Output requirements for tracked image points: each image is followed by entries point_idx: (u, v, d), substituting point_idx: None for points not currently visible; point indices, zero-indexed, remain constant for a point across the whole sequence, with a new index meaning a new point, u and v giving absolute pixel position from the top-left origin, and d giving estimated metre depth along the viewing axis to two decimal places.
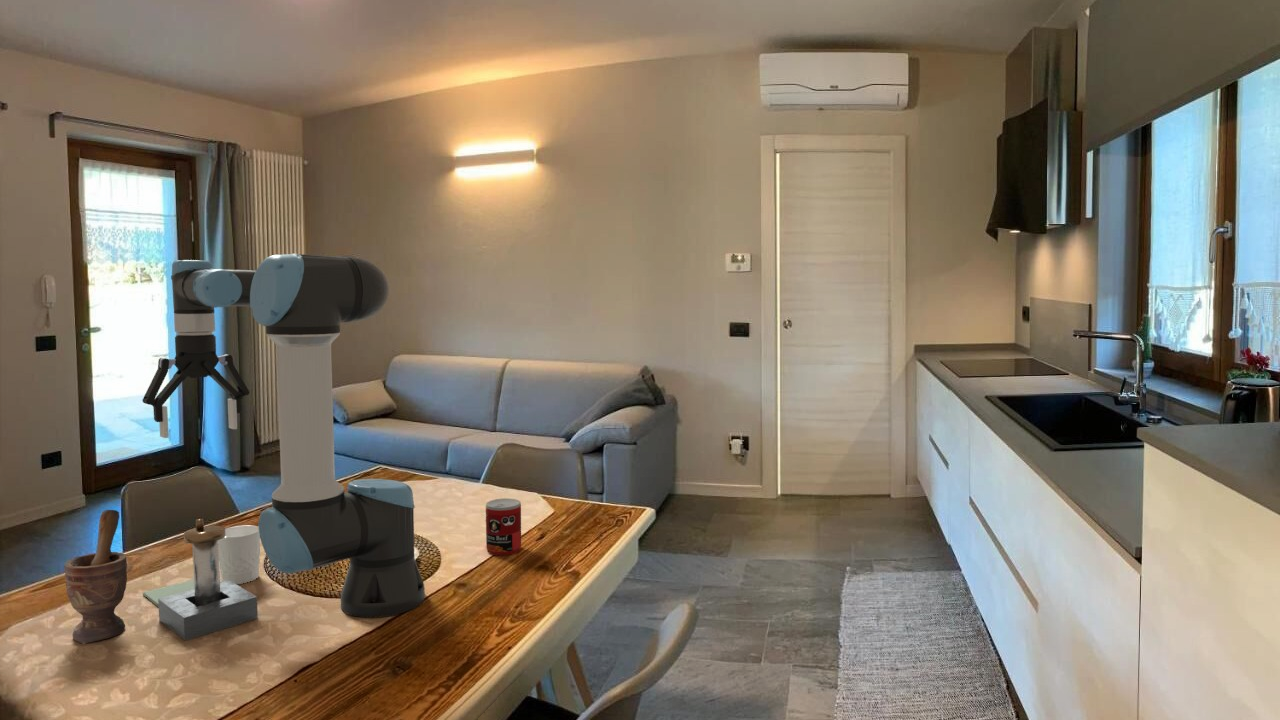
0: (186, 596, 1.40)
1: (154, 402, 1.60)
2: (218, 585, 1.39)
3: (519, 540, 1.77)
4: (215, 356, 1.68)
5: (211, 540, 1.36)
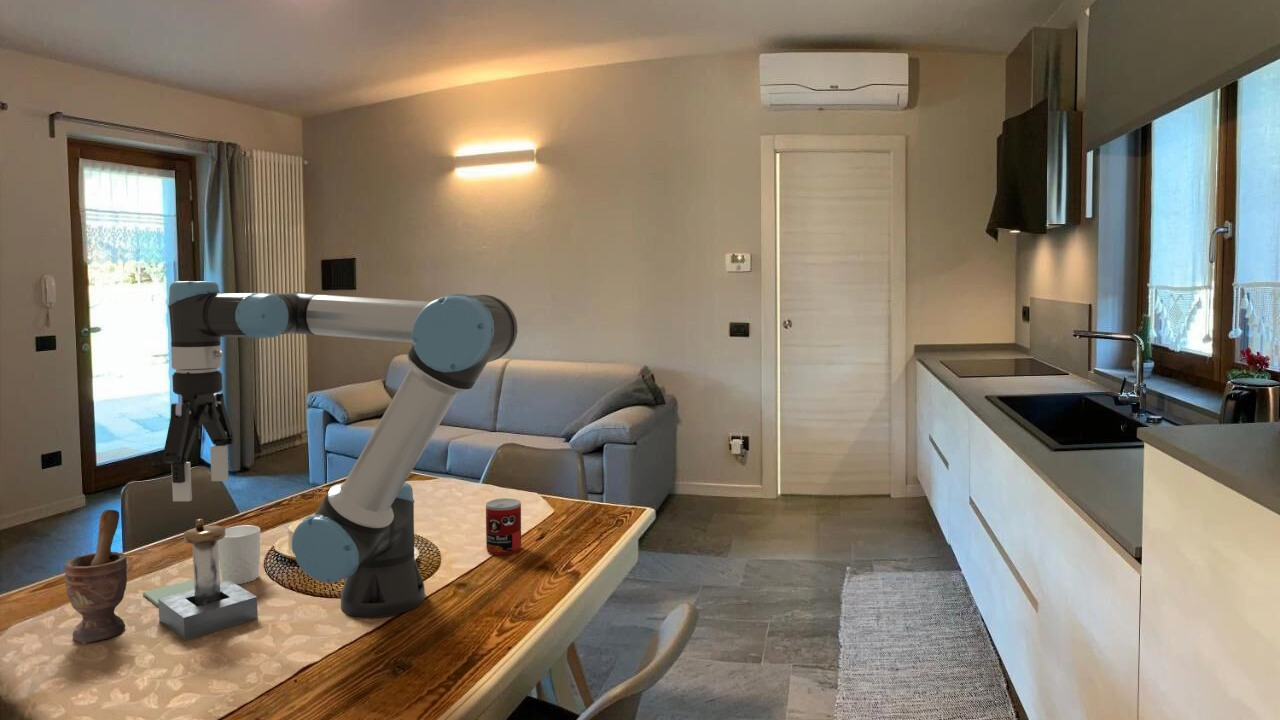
0: (186, 596, 1.40)
1: None
2: (218, 585, 1.39)
3: (519, 540, 1.77)
4: None
5: (211, 540, 1.36)
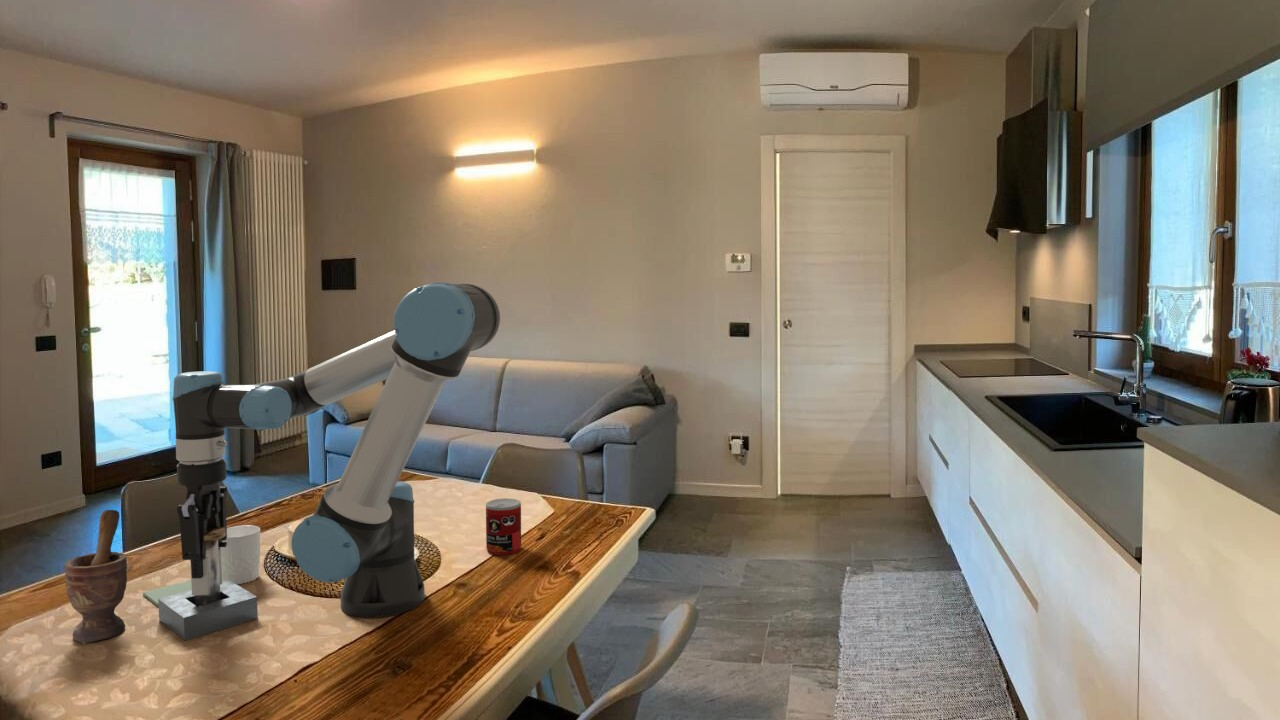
0: (186, 596, 1.40)
1: None
2: (218, 585, 1.39)
3: (519, 540, 1.77)
4: None
5: (211, 540, 1.36)
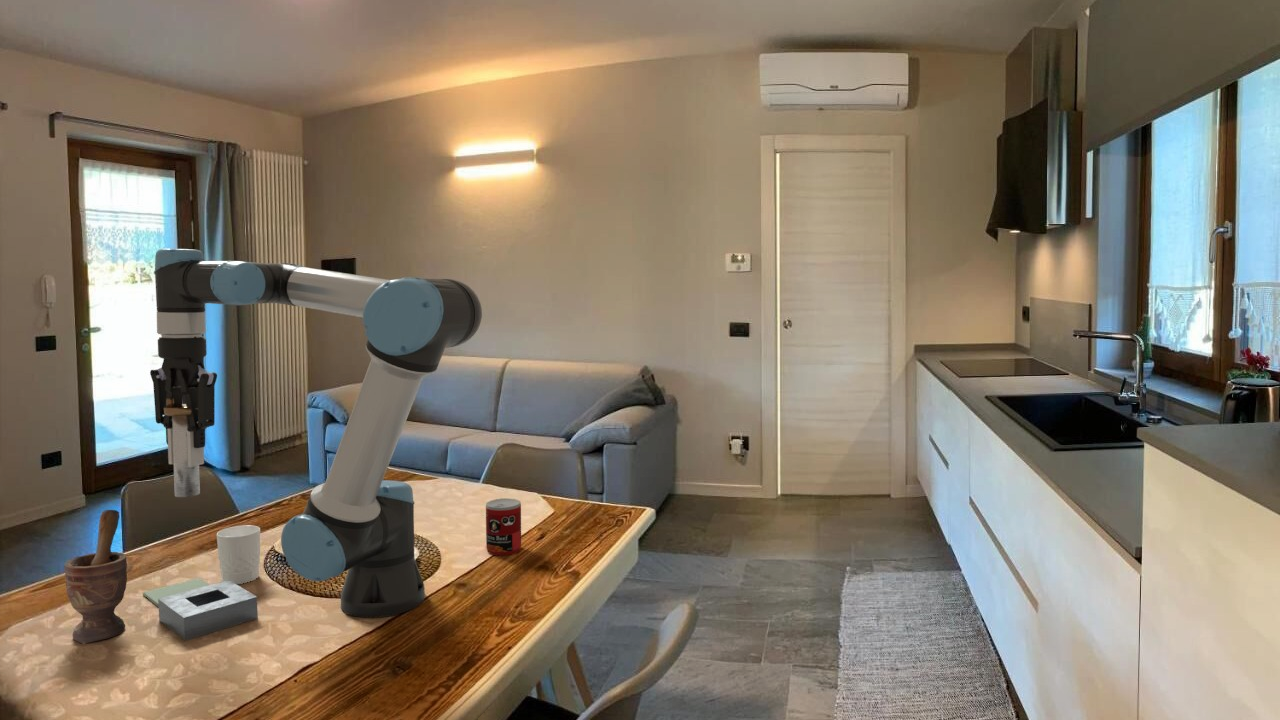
0: (186, 596, 1.40)
1: None
2: None
3: (519, 540, 1.77)
4: (193, 366, 1.38)
5: None
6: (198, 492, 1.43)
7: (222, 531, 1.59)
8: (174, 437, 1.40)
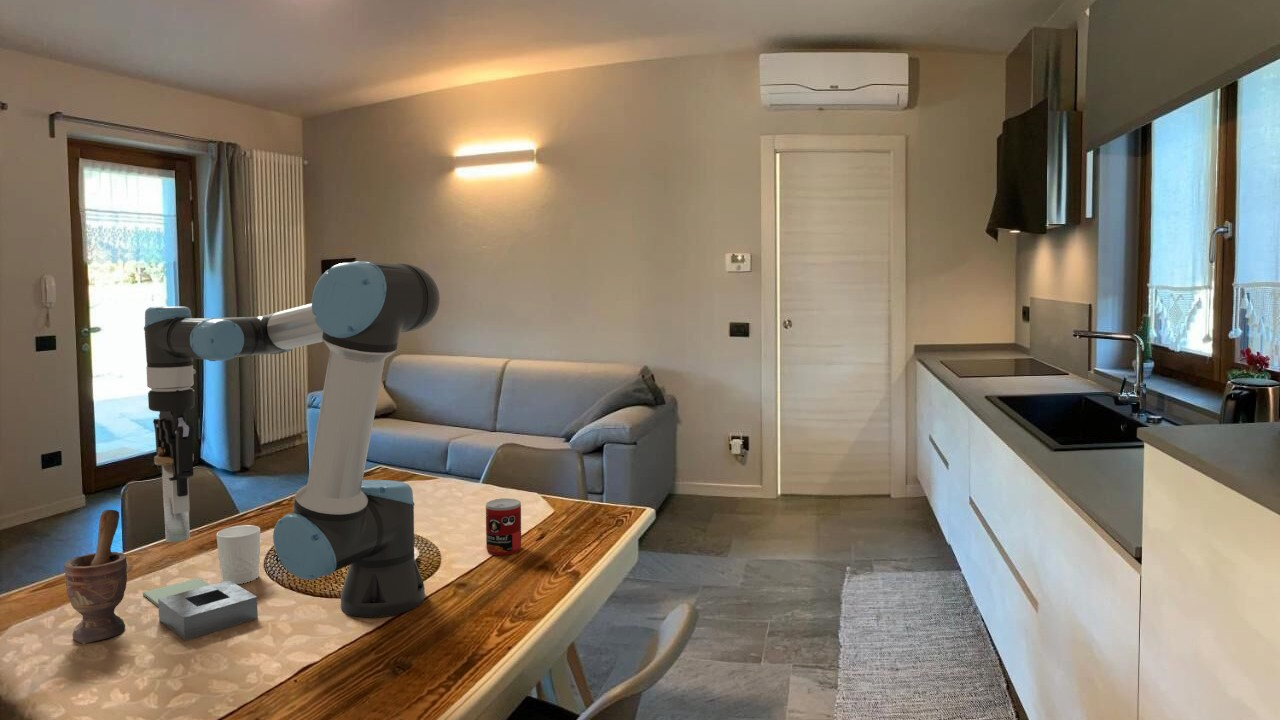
0: (186, 596, 1.40)
1: None
2: None
3: (519, 540, 1.77)
4: (173, 419, 1.44)
5: None
6: (185, 538, 1.49)
7: (222, 531, 1.59)
8: (163, 484, 1.48)
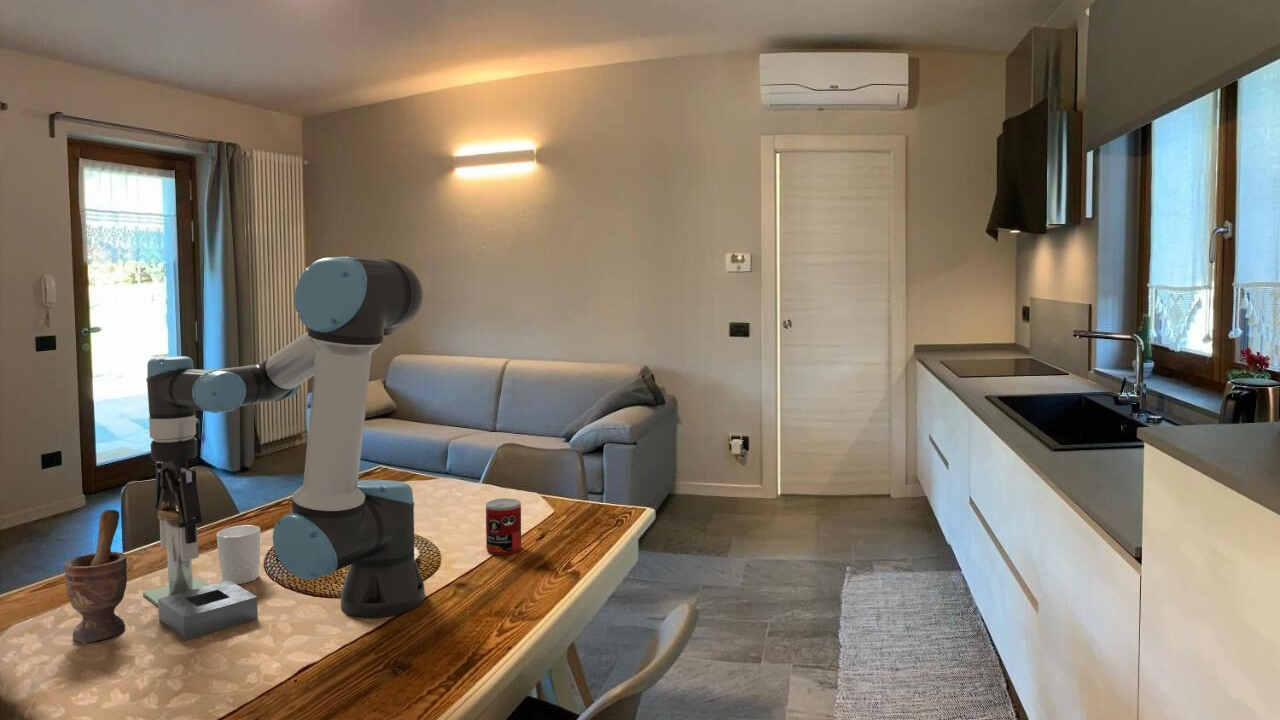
0: (186, 596, 1.40)
1: None
2: None
3: (519, 540, 1.77)
4: (175, 468, 1.45)
5: None
6: None
7: (222, 531, 1.59)
8: (166, 538, 1.48)
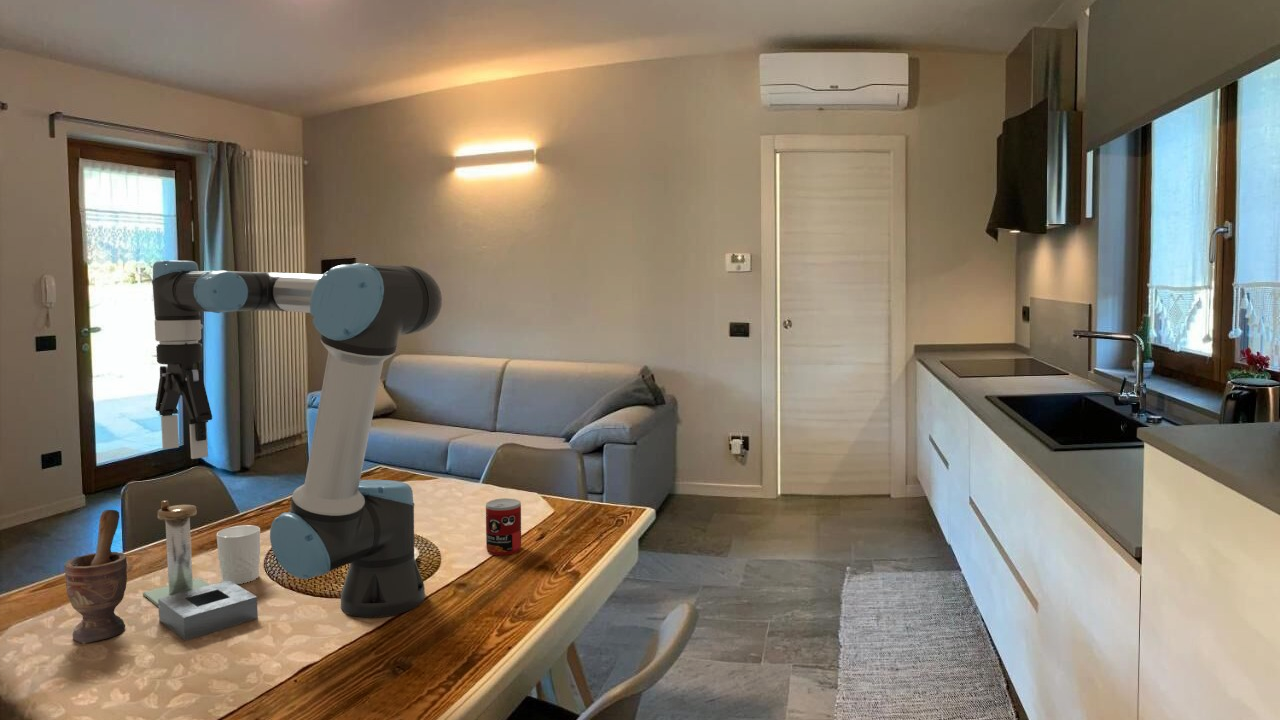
0: (186, 596, 1.40)
1: None
2: (190, 557, 1.52)
3: (519, 540, 1.77)
4: (181, 370, 1.46)
5: (194, 514, 1.49)
6: None
7: (222, 531, 1.59)
8: (166, 538, 1.48)
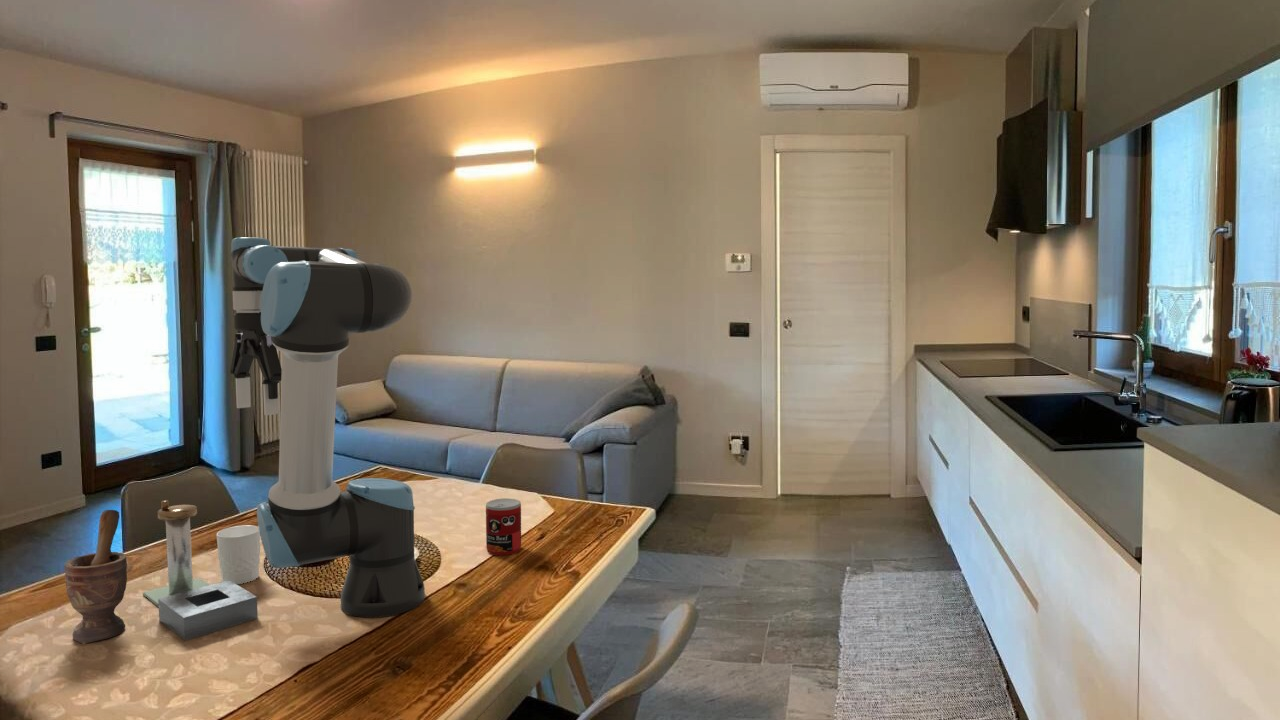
0: (186, 596, 1.40)
1: None
2: None
3: (519, 540, 1.77)
4: (256, 336, 1.63)
5: (194, 514, 1.49)
6: None
7: (222, 531, 1.59)
8: (166, 538, 1.48)
